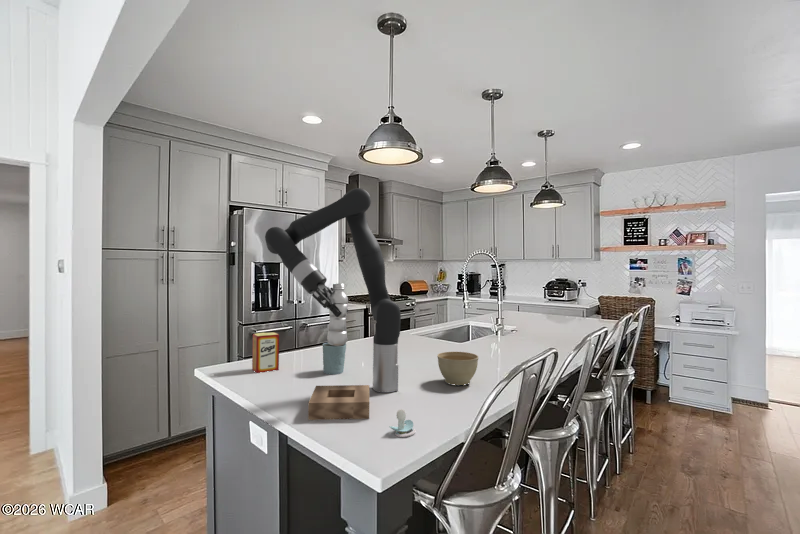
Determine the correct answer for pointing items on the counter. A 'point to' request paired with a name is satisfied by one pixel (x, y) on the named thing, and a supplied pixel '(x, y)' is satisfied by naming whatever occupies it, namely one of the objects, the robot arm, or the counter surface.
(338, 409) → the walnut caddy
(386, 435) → the counter surface
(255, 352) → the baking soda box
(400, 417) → the pacifier
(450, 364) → the planter bowl
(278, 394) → the counter surface
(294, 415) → the counter surface
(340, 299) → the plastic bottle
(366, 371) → the counter surface
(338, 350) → the drinking glass
